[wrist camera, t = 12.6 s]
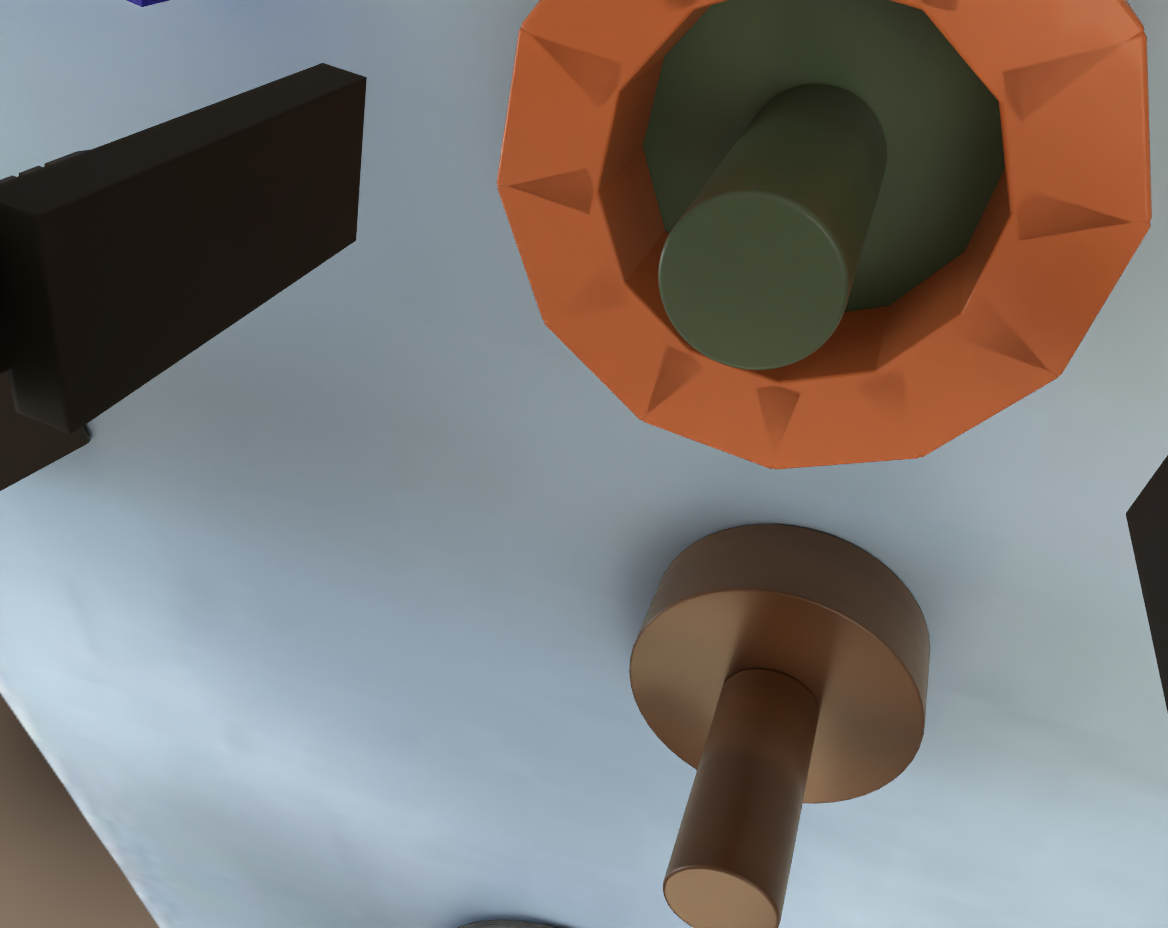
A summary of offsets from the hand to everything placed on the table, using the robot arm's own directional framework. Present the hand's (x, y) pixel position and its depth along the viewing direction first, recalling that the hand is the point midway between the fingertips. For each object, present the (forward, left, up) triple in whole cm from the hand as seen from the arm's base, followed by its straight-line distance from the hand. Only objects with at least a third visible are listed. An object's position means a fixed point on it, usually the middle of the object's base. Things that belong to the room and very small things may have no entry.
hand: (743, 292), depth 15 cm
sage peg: (0, 0, -9) cm, 9 cm away
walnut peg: (-15, -4, -9) cm, 18 cm away
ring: (0, 0, -6) cm, 6 cm away
